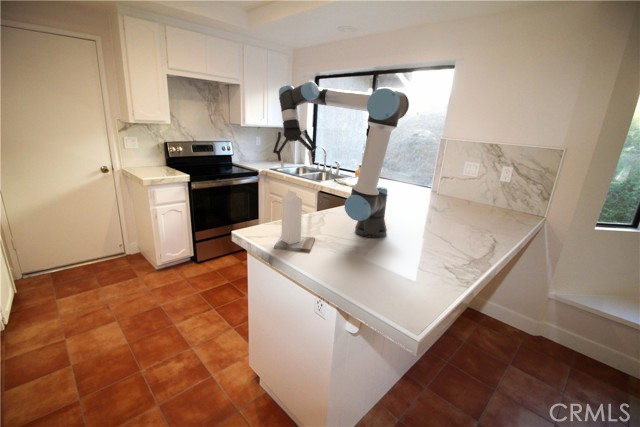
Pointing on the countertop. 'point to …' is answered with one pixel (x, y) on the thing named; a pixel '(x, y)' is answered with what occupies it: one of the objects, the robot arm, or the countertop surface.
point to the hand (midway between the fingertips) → (297, 166)
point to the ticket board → (296, 244)
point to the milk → (291, 218)
